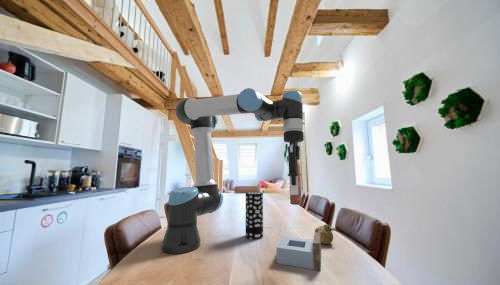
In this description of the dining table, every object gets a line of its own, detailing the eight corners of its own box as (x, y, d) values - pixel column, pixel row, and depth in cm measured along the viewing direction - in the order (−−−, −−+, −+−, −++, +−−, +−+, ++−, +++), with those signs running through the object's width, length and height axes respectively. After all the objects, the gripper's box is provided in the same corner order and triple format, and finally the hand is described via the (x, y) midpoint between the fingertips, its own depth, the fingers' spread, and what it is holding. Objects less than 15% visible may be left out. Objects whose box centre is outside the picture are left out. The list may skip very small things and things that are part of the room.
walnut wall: (313, 269, 63) (312, 242, 64) (315, 254, 74) (314, 231, 75) (320, 270, 62) (319, 243, 63) (321, 255, 74) (320, 232, 75)
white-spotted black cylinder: (265, 235, 96) (265, 192, 99) (259, 240, 89) (258, 194, 91) (250, 232, 100) (250, 191, 102) (242, 238, 92) (242, 193, 95)
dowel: (289, 204, 72) (288, 159, 74) (291, 202, 76) (289, 160, 78) (300, 205, 71) (299, 159, 73) (302, 203, 74) (300, 160, 77)
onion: (325, 239, 91) (324, 220, 92) (338, 245, 84) (337, 225, 85) (311, 240, 89) (310, 222, 90) (323, 247, 81) (322, 226, 82)
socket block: (276, 263, 67) (276, 247, 68) (283, 249, 79) (283, 236, 79) (313, 269, 63) (313, 252, 64) (315, 254, 74) (315, 240, 75)
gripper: (300, 126, 68) (303, 197, 65) (305, 134, 83) (307, 191, 80) (278, 127, 70) (280, 196, 67) (287, 135, 86) (289, 191, 83)
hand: (295, 193), depth 74 cm, fingers closed on dowel, 4 cm apart
